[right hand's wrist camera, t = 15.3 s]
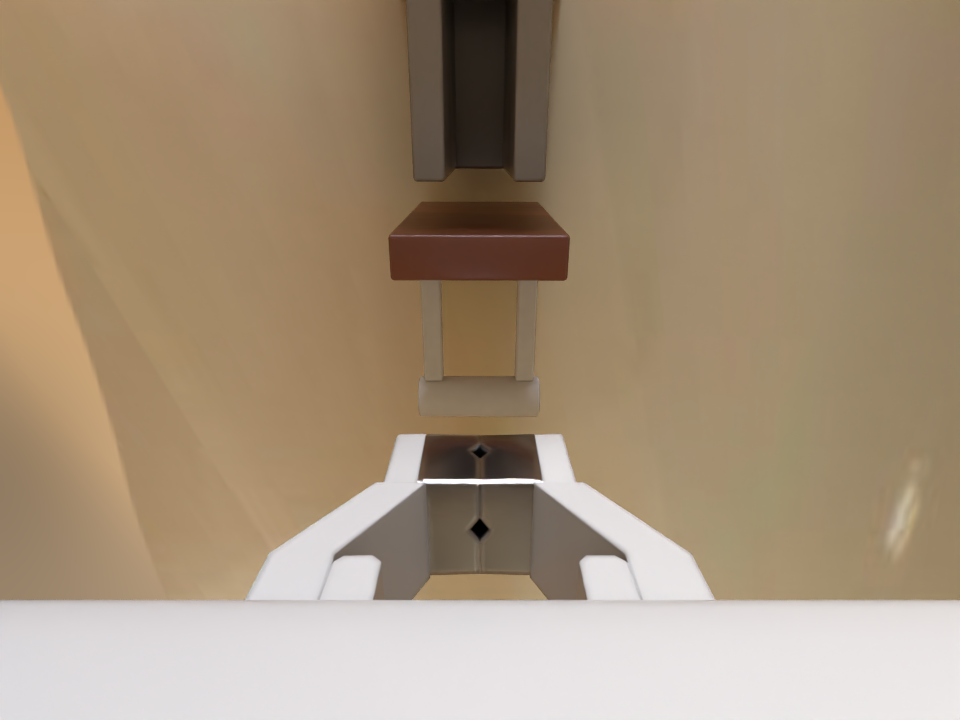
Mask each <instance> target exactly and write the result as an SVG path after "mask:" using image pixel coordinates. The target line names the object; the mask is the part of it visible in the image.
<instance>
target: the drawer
mask: <svg viewBox="0 0 960 720" xmlns="http://www.w3.org/2000/svg"><path fill="white" fill-rule="evenodd" d="M552 12H553V0H406V13H407V37H408V61H409V85H410V110H411V134H412V158H413V178H414V180H415V181H444V180H445V179H446V178H447V177H448V176H449V175H450V174H451V173H452V171H453V170H454V169H505V170H506V171H507V173H508V174H509V175H510V176H511V177H512V178H513V180H514V181H517V182H542V181H544V179H545V170H546V148H547V125H548V102H549V80H550V57H551V34H552ZM569 243H570V237H569V235H568V234H567V233H566V232H565V231H564V230H563V229H562V228H561V227H560V226H559V224H558V223H557V222H556V221H555V220H554V219H553V218H552V217H551V216H550V215H549V214H548V213H547V212H546V210H545V209H544V208H543V207H542V206H541V205H540V204H539V203H538V202H421V203H420V204H419V205H418V206H417V207H416V208H415V209H414V210H413V211H412V212H411V213H410V214H409V215H408V216H407V218H406V219H405V220H404V221H403V222H402V223H401V224H400V225H399V226H398V227H397V228H396V229H395V230H394V231H393V232H392V233H391V234H390V235H389V255H390V272H391V278H392V279H393V280H421V303H422V329H423V354H424V376H422V377H420V379H419V385H418V410H419V414H420V416H451V417H537V416H538V415H539V410H540V384H539V379H538V377H536V376H534V361H535V337H536V313H537V289H538V281H564V280H566V279H567V275H568V259H569ZM441 280H517V310H516V346H515V376H443V374H444V371H443V331H442V291H441Z"/></svg>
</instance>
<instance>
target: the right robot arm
mask: <svg viewBox="0 0 960 720" xmlns="http://www.w3.org/2000/svg"><path fill="white" fill-rule="evenodd" d="M449 574H510V575H530V578H531V579H532V580H533V582H534V583H535V584H536V585H537V586H538V588H539V589H540V590H541V591H542V593H543V594H544V595H545V596H546V597H547V599H548V600H412V599H413V598H414V597H415V595H416V594H417V593H418V592H419V591H420V589H421V588H422V587H423V586H424V585H425V583H426V582H427V581H428V580H429V578H430V575H449ZM0 720H960V600H715V598H714V596H713V595H712V593H711V591H710V589H709V587H708V585H707V583H706V581H705V579H704V577H703V575H702V573H701V571H700V569H699V567H698V565H697V563H696V561H695V559H694V557H693V556H692V554H691V553H690V552H688V551H687V550H685V549H684V548H682V547H681V546H679V545H678V544H676V543H675V542H673V541H672V540H670V539H668V538H667V537H665V536H664V535H662V534H661V533H659V532H658V531H656V530H655V529H653V528H652V527H650V526H649V525H647V524H646V523H644V522H643V521H641V520H640V519H638V518H637V517H635V516H634V515H632V514H631V513H629V512H628V511H626V510H625V509H623V508H622V507H620V506H619V505H617V504H616V503H614V502H613V501H611V500H610V499H608V498H607V497H605V496H604V495H602V494H601V493H599V492H598V491H596V490H595V489H593V488H592V487H590V486H589V485H587V484H586V483H584V482H576V479H575V476H574V472H573V469H572V466H571V462H570V459H569V455H568V452H567V448H566V445H565V441H564V438H563V435H561V434H539V435H534V434H523V435H481V436H480V435H439V434H427V435H425V434H399V435H398V436H397V437H396V441H395V444H394V448H393V451H392V455H391V458H390V462H389V465H388V469H387V472H386V476H385V479H384V482H376V483H374V484H373V485H371V486H370V487H368V488H367V489H365V490H364V491H362V492H361V493H359V494H358V495H356V496H355V497H353V498H352V499H350V500H349V501H347V502H346V503H344V504H343V505H341V506H340V507H338V508H336V509H335V510H333V511H332V512H330V513H329V514H327V515H326V516H324V517H323V518H321V519H320V520H318V521H317V522H315V523H314V524H312V525H311V526H309V527H308V528H306V529H305V530H303V531H302V532H300V533H299V534H297V535H296V536H294V537H293V538H291V539H290V540H288V541H287V542H285V543H284V544H282V545H281V546H279V547H278V548H276V549H275V550H273V551H271V552H270V553H269V554H268V556H267V558H266V560H265V562H264V564H263V566H262V568H261V570H260V572H259V573H258V575H257V577H256V579H255V581H254V583H253V585H252V587H251V589H250V591H249V593H248V595H247V597H246V598H245V600H0Z"/></svg>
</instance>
